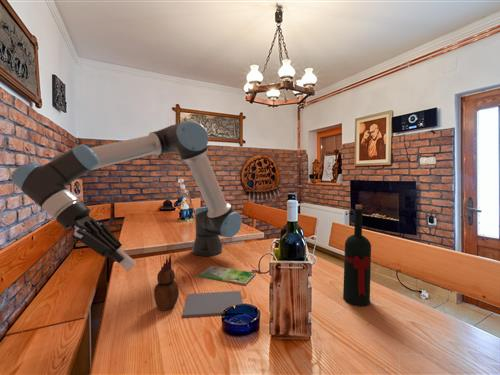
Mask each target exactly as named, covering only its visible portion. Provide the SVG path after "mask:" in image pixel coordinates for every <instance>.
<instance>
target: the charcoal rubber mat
mask: <svg viewBox="0 0 500 375" xmlns="http://www.w3.org/2000/svg"><path fill="white" fill-rule="evenodd" d="M237 304H243V305H244V303H243V298H242V291H241V290H236V291H235V290H233V291H232V290H231V291H217V292H214V291H213V292H198V293H188V295H187V297H186V301H185V305H184V309H183V313H182V318H193V317H206V316H207V317H208V316H222V315H221V314H222V312H223V311H224V309H226V308H227V307H229V306H235V305H237Z"/></svg>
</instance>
